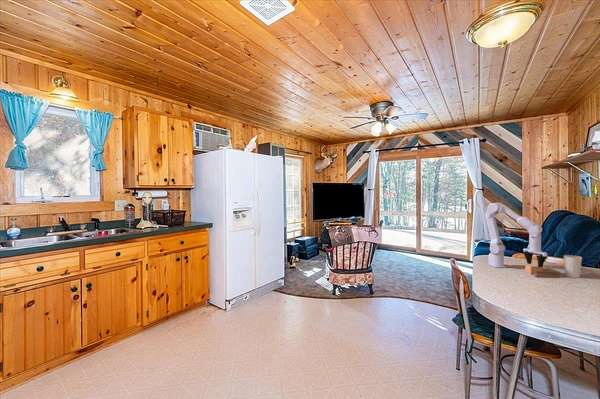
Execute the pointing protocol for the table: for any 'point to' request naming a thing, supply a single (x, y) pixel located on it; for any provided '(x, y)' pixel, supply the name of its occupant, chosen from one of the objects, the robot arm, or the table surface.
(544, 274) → the wooden l-shaped bracket
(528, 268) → the block
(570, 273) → the cup
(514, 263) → the table surface
